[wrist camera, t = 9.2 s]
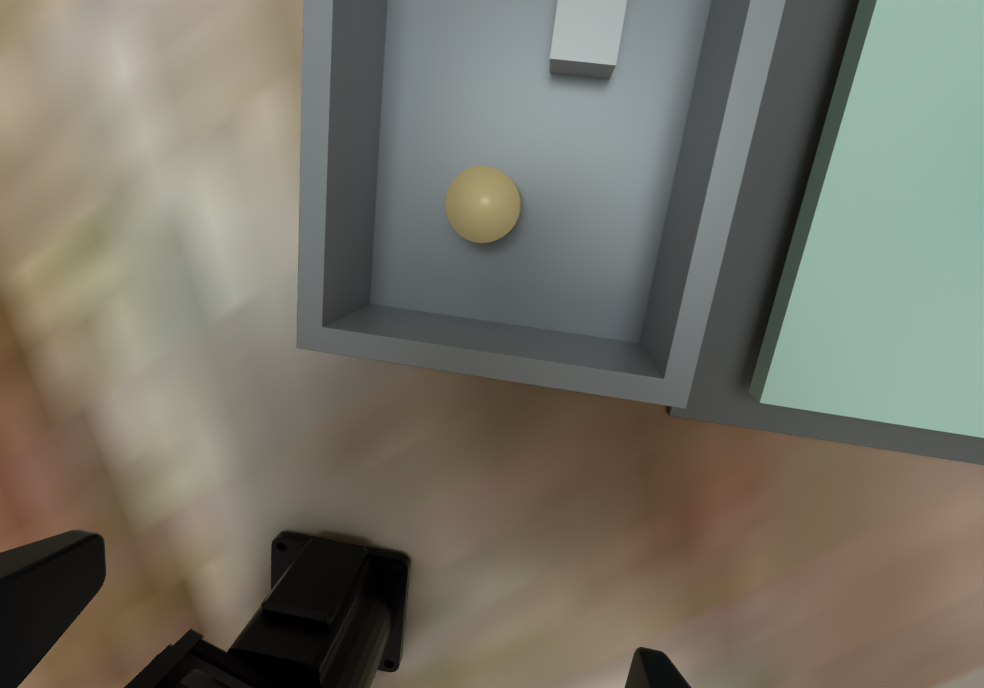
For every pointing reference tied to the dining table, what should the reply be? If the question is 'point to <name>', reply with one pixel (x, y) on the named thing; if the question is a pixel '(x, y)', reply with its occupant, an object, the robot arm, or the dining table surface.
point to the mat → (786, 247)
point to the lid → (891, 232)
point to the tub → (525, 183)
